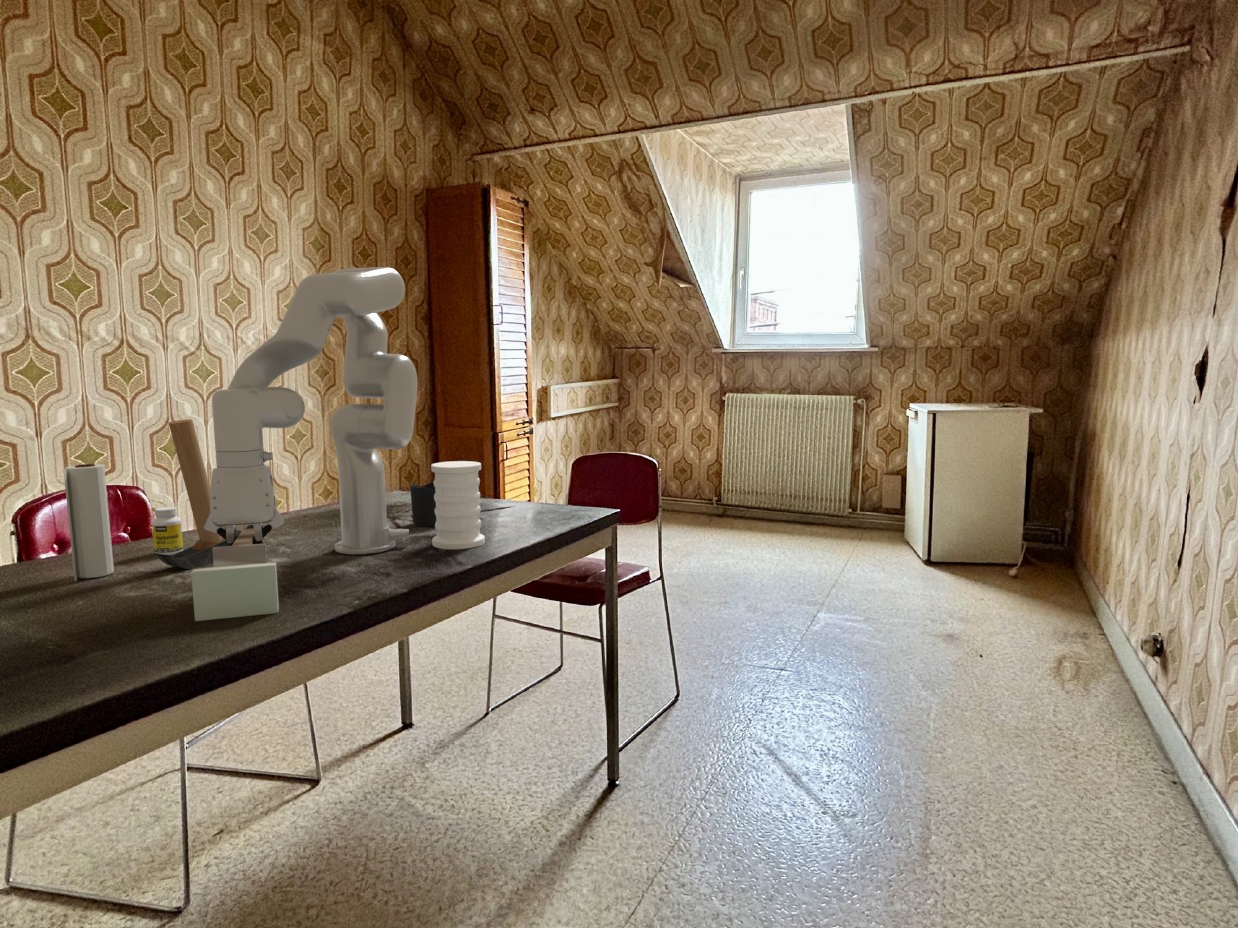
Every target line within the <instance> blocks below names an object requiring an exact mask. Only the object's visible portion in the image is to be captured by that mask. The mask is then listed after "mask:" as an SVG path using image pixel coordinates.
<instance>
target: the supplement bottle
mask: <svg viewBox="0 0 1238 928" xmlns="http://www.w3.org/2000/svg"><path fill="white" fill-rule="evenodd" d="M177 510H178V509H177V507H175V506H163V507H157V508H155V509H154V515H155V517H156V518H154V519H153V520H152V522H151V527H152V528H151V529H152V540H153V554H154V553H158V554H162V555H163V554H164V555H169V556H170V555H173V554H176V553H178V552H180V551H183V550H184V543H183V542H184V541H183V528H182V527H183V526H182V520H181V518H180V517H179V516H177V514H178V513H177V512H178V511H177Z"/></svg>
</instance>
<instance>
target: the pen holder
mask: <svg viewBox="0 0 1238 928" xmlns="http://www.w3.org/2000/svg"><path fill="white" fill-rule="evenodd" d="M409 487H410V490H409V491H410V500H411V501H410V502H411V515H412V522H413V523H412V524H413V525H414V526H416V527H422V528H424V527H425V528H432V527H433V528H435V523H436V515H435V512H434V511H435V508H436V501H435V499H434V494H435V487H434V481H432V482H429V483H426V484H423V485H417V484H410V485H409Z"/></svg>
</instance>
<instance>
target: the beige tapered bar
mask: <svg viewBox="0 0 1238 928" xmlns="http://www.w3.org/2000/svg"><path fill="white" fill-rule="evenodd" d="M241 531H242V532H241V533H240V535H239V536H238V537H237V539H236V540H235V542H234V543H233V545H232V546H223V547H213V548H212V552H213V567H226V566H238V565H251V564H263V563H268V557H267V543H263V544H253V541H254V537H255V533H254V528H253V529H245V528H243V529H242V530H241Z"/></svg>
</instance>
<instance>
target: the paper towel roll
mask: <svg viewBox="0 0 1238 928" xmlns="http://www.w3.org/2000/svg"><path fill="white" fill-rule="evenodd" d="M105 469H106V468H105V465H104V464H102V463H101V464H100V463H99V464H97V463H85V464H84V463H83V464H76V465H69V466H65V467H64V468H63V479H64V488H65V499H66V508H67V519H68V520H67V521H68V527H69V536H70V537H69V539H70V548H71V558H72V565H73V566H72V568H73V580H74V582H77V581H78V579H92V578H93V579H94V578H101V577H106V576H109V575H111V574H113V573H114V572H115V567H114V558H113V557H114V555H113V545H112V544H113V543H112V536H111V525H110V513H109V512H110V511H109V503H108V495H107V494H108V493H107V491H108V490H107V483H106V472H105Z"/></svg>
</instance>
